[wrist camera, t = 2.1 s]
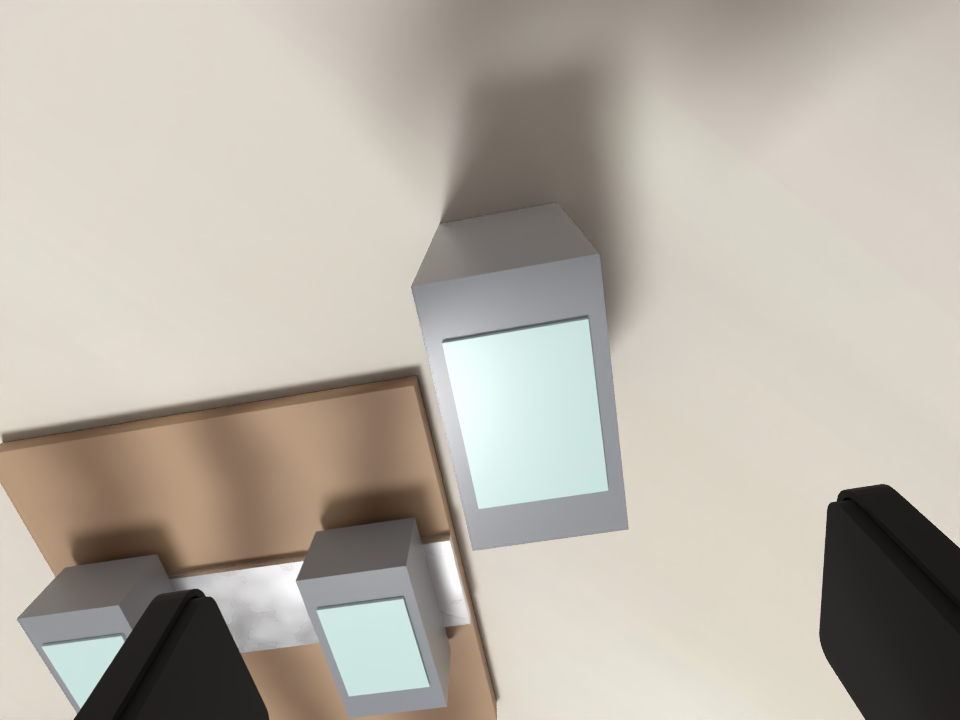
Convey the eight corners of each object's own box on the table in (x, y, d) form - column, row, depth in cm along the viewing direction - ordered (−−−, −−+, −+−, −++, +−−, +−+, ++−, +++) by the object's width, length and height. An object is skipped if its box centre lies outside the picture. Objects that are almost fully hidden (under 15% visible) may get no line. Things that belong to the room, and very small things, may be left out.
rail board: (416, 375, 25) (401, 429, 20) (496, 702, 32) (497, 792, 28) (1, 443, 26) (-94, 506, 22) (170, 740, 34) (124, 831, 29)
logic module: (557, 202, 22) (600, 254, 13) (581, 391, 25) (629, 532, 16) (439, 223, 22) (410, 288, 14) (477, 408, 25) (472, 553, 17)
